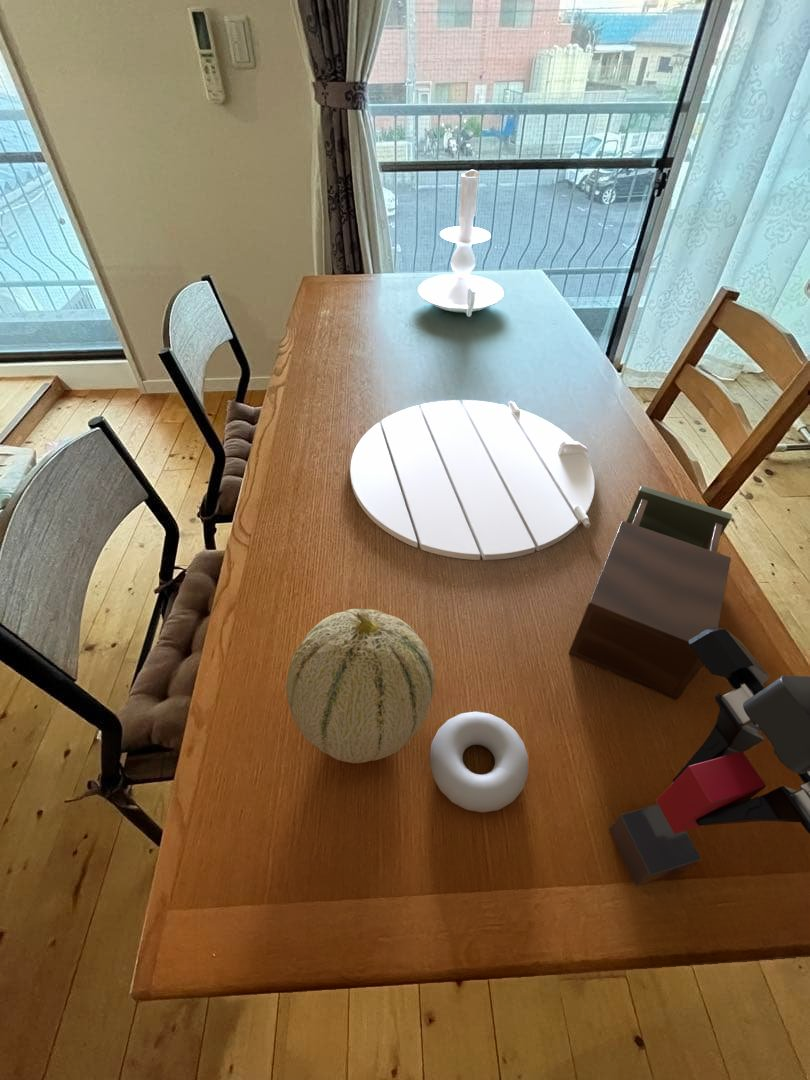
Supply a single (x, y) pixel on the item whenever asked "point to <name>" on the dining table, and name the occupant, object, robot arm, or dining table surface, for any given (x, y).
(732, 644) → the robot arm
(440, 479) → the lazy susan
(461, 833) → the dining table surface
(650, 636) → the cabinet
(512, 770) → the donut
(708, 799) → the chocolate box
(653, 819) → the stand
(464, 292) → the candlestick
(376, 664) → the cantaloupe
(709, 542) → the drawer
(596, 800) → the dining table surface
